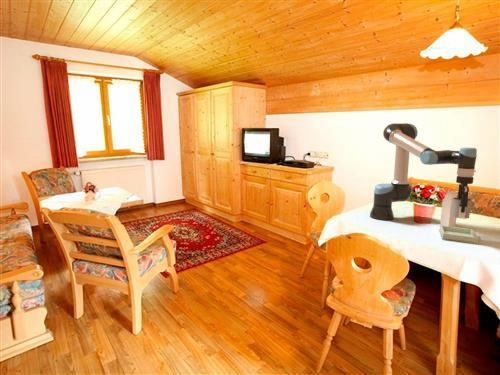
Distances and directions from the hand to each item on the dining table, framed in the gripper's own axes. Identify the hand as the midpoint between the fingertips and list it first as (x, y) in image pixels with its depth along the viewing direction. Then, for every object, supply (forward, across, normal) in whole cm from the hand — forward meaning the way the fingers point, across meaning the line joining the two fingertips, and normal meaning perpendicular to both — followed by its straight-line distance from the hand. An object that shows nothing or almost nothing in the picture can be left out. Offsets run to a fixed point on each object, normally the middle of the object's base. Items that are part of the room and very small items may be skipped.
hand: (460, 215), depth 165 cm
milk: (+13, +23, +2) cm, 26 cm away
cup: (+1, 0, 0) cm, 1 cm away
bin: (+13, 0, 0) cm, 13 cm away
